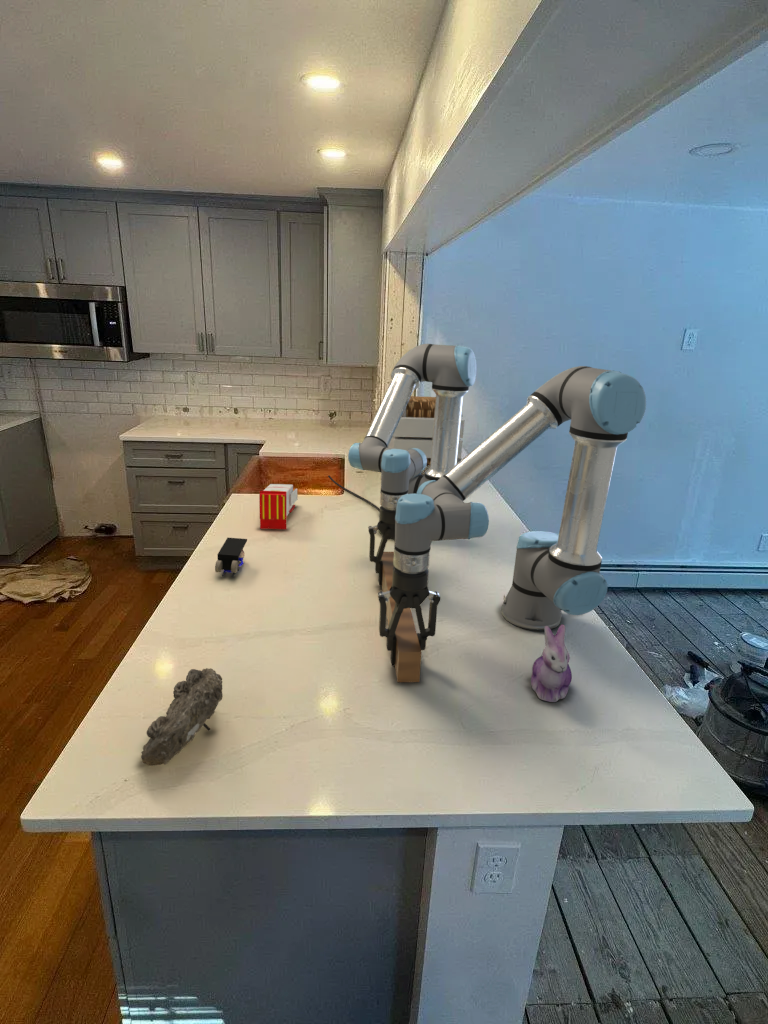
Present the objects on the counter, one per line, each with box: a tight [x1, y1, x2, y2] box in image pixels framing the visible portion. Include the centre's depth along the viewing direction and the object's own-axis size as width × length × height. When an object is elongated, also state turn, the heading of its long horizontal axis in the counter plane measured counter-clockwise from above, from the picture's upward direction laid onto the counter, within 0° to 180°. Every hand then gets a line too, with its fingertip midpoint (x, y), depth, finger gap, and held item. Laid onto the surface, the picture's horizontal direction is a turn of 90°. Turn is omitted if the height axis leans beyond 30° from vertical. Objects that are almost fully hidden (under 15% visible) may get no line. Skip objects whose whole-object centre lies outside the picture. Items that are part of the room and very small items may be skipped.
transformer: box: [388, 395, 465, 467], centre depth 268 cm, size 34×33×41 cm
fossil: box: [140, 667, 224, 767], centre depth 103 cm, size 22×10×15 cm
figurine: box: [530, 624, 573, 703], centre depth 118 cm, size 9×10×15 cm
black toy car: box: [214, 537, 248, 578], centre depth 166 cm, size 7×8×15 cm
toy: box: [258, 483, 299, 530], centre depth 210 cm, size 12×13×30 cm
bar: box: [381, 551, 422, 683], centre depth 144 cm, size 52×5×8 cm, turn 5°
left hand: (389, 582), depth 163 cm, fingers closed on bar, 5 cm apart
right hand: (404, 661), depth 127 cm, fingers closed on bar, 5 cm apart
